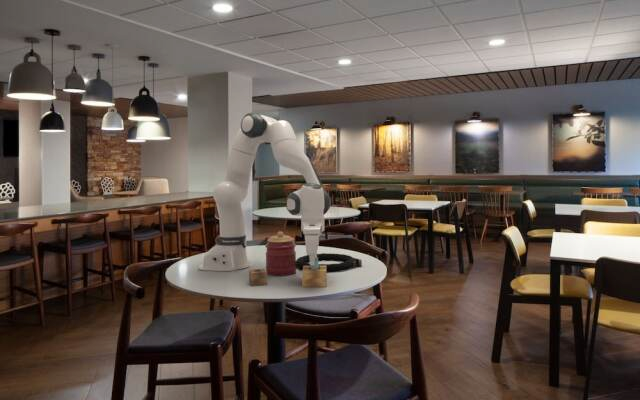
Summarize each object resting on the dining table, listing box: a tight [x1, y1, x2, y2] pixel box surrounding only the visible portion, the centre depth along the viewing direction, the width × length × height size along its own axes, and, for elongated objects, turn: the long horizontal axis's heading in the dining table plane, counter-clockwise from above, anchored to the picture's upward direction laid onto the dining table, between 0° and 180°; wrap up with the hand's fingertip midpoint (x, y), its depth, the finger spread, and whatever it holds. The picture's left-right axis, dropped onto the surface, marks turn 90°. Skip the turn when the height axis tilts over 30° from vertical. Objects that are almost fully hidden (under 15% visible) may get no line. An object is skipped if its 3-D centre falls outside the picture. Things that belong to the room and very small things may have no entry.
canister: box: [264, 230, 297, 277], centre depth 195 cm, size 13×13×18 cm
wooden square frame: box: [301, 265, 328, 288], centre depth 177 cm, size 9×9×6 cm
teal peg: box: [311, 253, 319, 270], centre depth 176 cm, size 3×3×11 cm
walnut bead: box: [248, 268, 268, 287], centre depth 178 cm, size 6×6×5 cm
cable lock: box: [296, 253, 362, 273], centre depth 207 cm, size 28×4×30 cm
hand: (312, 262), depth 176 cm, fingers open, 8 cm apart
